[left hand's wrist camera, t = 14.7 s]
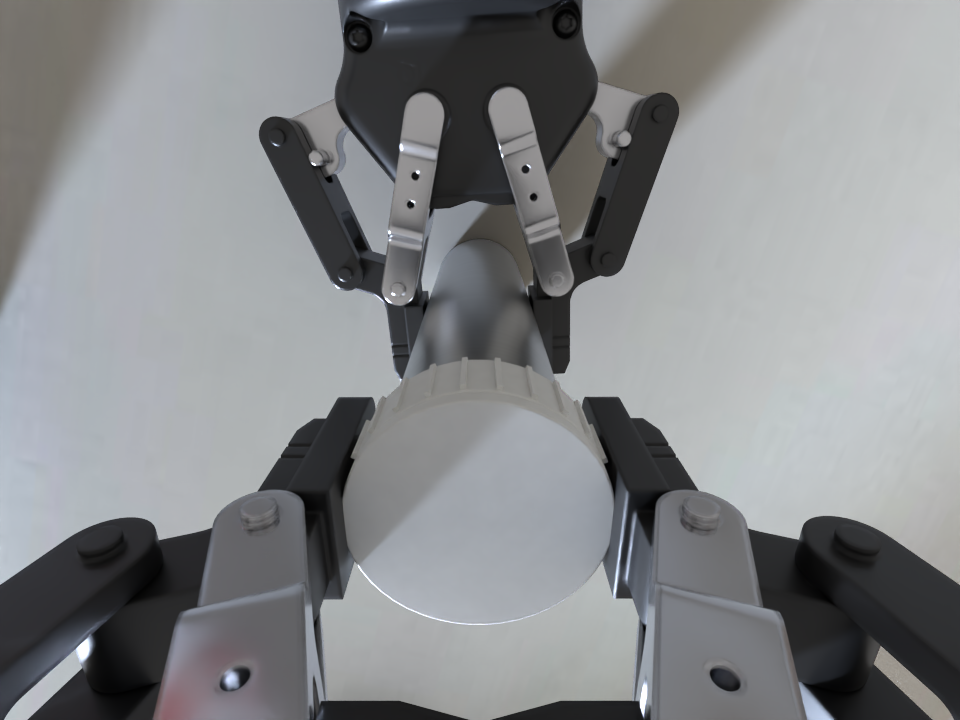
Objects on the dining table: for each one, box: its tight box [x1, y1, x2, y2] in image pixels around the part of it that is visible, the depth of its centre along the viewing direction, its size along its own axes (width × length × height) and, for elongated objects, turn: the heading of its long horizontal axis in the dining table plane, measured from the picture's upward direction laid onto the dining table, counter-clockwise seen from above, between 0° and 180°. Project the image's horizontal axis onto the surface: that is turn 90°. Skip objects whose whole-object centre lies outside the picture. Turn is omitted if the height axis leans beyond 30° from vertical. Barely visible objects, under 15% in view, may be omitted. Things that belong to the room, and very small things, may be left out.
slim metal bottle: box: [403, 239, 555, 382], centre depth 18 cm, size 4×4×18 cm
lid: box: [342, 357, 614, 625], centre depth 10 cm, size 5×5×2 cm
